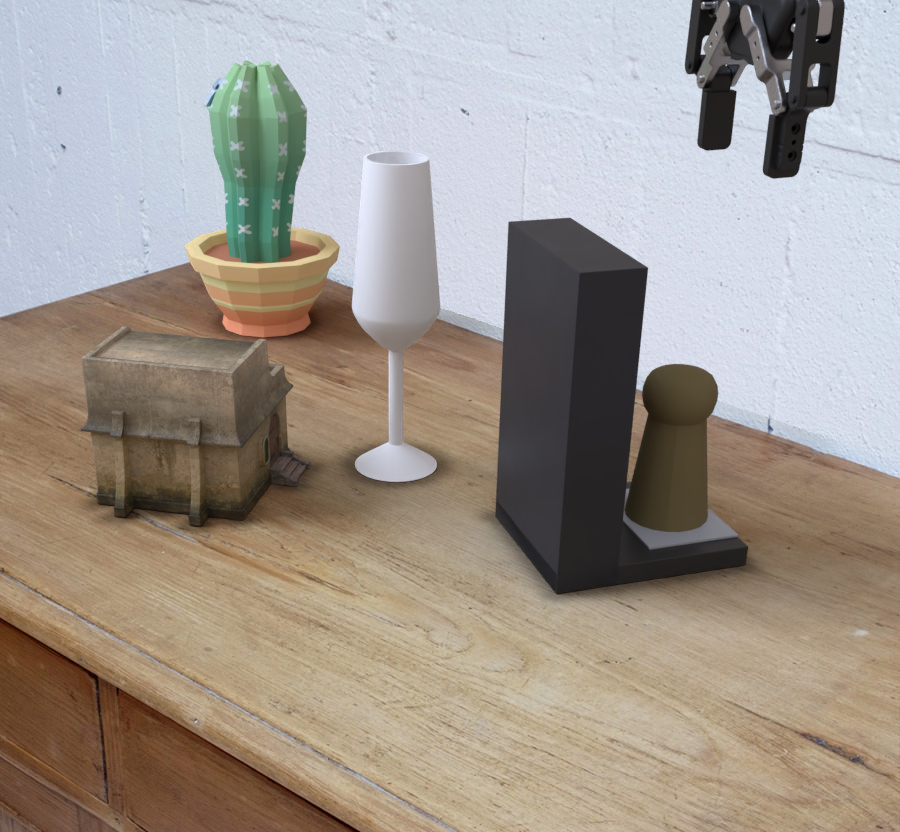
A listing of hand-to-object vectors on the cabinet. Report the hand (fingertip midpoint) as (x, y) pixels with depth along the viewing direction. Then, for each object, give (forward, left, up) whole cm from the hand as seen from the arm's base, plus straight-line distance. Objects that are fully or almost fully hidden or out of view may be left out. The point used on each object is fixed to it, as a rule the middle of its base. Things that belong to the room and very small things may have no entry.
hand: (745, 162), depth 85 cm
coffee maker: (+8, +1, -26) cm, 27 cm away
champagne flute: (+19, -16, -26) cm, 36 cm away
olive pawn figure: (+3, +1, -25) cm, 25 cm away
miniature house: (+34, -17, -26) cm, 46 cm away
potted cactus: (+22, -53, -26) cm, 63 cm away
